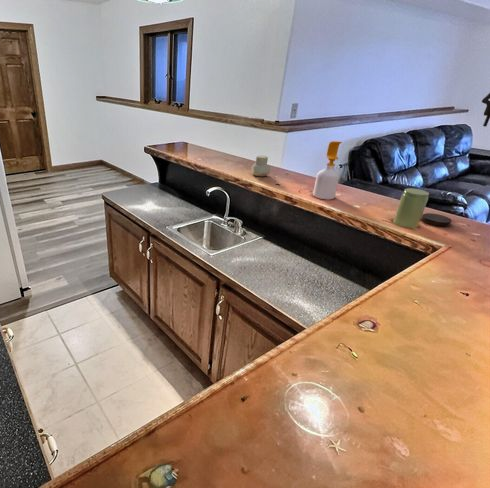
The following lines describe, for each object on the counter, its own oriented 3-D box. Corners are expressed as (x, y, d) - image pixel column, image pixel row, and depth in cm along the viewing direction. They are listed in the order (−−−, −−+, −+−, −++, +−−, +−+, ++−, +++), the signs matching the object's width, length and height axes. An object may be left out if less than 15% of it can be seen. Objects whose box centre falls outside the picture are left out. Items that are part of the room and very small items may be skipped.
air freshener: (269, 178, 183) (272, 159, 178) (253, 177, 183) (256, 158, 179) (265, 172, 193) (267, 154, 188) (250, 172, 193) (252, 154, 188)
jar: (418, 223, 131) (430, 191, 126) (417, 229, 126) (429, 196, 120) (394, 217, 136) (405, 186, 130) (391, 224, 130) (402, 191, 124)
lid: (423, 215, 138) (425, 211, 137) (451, 222, 133) (453, 217, 132) (418, 222, 132) (420, 217, 131) (447, 229, 127) (449, 224, 126)
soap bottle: (314, 198, 154) (326, 142, 143) (311, 192, 162) (323, 138, 151) (335, 200, 153) (350, 143, 142) (332, 194, 160) (345, 139, 149)
